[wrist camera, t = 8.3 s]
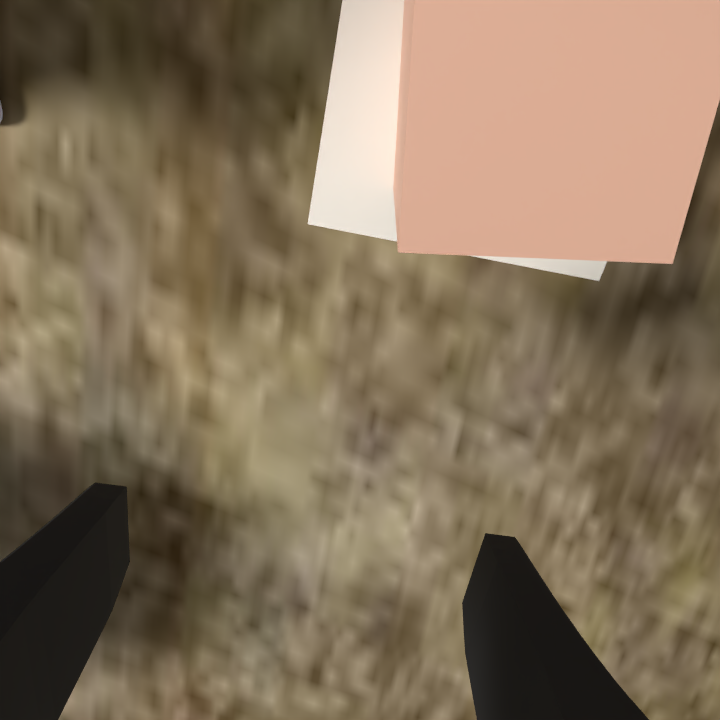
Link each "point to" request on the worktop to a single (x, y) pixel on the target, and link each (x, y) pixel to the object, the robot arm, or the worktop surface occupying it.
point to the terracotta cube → (553, 126)
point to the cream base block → (376, 133)
